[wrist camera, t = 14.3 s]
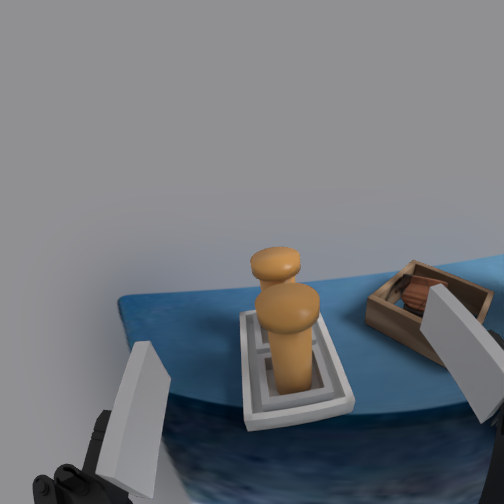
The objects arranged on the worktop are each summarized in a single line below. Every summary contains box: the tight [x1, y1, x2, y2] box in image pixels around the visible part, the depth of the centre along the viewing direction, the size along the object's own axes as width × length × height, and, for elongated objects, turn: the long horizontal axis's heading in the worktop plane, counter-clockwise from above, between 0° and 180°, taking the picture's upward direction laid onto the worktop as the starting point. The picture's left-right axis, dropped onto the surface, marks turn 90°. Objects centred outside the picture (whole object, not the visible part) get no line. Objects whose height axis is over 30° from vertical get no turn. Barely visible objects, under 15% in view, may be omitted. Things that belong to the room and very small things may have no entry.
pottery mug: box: [394, 274, 448, 319], centre depth 32 cm, size 12×10×8 cm
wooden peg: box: [255, 283, 320, 395], centre depth 25 cm, size 5×5×12 cm
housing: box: [240, 310, 355, 431], centre depth 31 cm, size 18×11×3 cm, turn 3°
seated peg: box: [250, 247, 301, 339], centre depth 32 cm, size 5×5×12 cm
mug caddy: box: [365, 260, 494, 368], centre depth 32 cm, size 14×16×4 cm
